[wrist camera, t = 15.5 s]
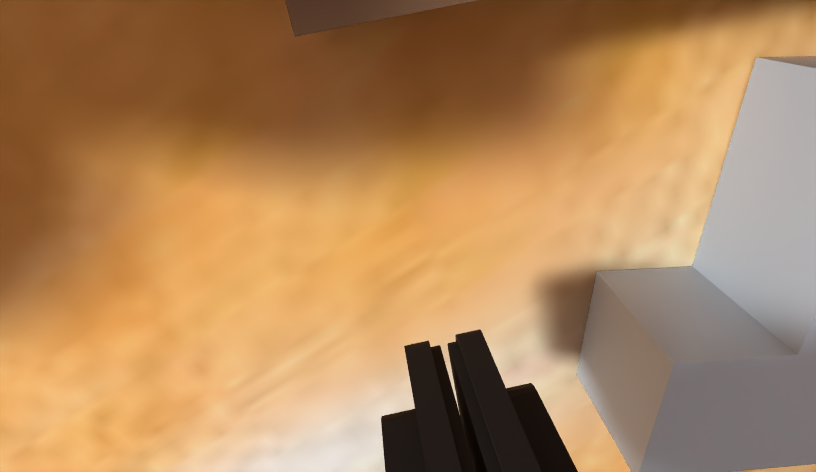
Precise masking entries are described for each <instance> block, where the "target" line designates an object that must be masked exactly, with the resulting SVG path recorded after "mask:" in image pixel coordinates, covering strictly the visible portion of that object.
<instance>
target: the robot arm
mask: <svg viewBox="0 0 816 472" xmlns="http://www.w3.org/2000/svg"><path fill="white" fill-rule="evenodd" d="M448 351H449V356H450V362H451V367H452V373H453V379H454V384H455V390H456V395H457V401H458V407H459V411H458V407H457V404H456V400H455V396H454V393H453V389H452V386H451V382H450V379H449V375H448V372H447V368H446V365H445V361H444V358H443V354H442V351H441V347H440V345H439V346H434V347H430V344H429V341H425V342H420V343H416V344H411V345H407V346H405V353H406V358H407V364H408V370H409V376H410V381H411V387H412V393H413V398H414V404H415V409H412V410H408V411H403V412H399V413H394V414H390V415H385V416H382V418H381V423H382V436H383V448H384V459H385V471H386V472H578V471H577V469H576V467H575V465H574V463H573V461H572V459H571V457H570V455H569V453H568V451H567V449H566V447H565V445H564V443H563V442H562V440H561V438H560V436H559V434H558V432H557V430H556V428H555V426H554V424H553V422H552V420H551V418H550V416H549V414H548V412H547V410H546V408H545V406H544V404H543V402H542V400H541V398H540V396H539V394H538V392H537V390H536V389H535V387H534V385H533V384H531V383H529V384H524V385H520V386H515V387H511V388H505V385H504V383H503V381H502V378H501V376H500V374H499V371H498V369H497V367H496V364H495V362H494V359H493V357H492V355H491V352H490V350H489V348H488V345H487V343H486V341H485V338H484V336H483V334H482V332H481V330H475V331H471V332H466V333H461V334H457V335H456V342H452V343H448ZM459 412H460V414H459Z"/></svg>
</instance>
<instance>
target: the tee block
mask: <svg viewBox="0 0 816 472" xmlns="http://www.w3.org/2000/svg"><path fill="white" fill-rule="evenodd" d="M577 376H578V378H579V380H580V381H581V383H582V385H583V387H584V388H585V390H586V392H587V394H588V395H589V397H590V399H591V401H592V403H593V404H594V406H595V408H596V410H597V411H598V413H599V415H600V417H601V418H602V420H603V422H604V424H605V426H606V427H607V429H608V431H609V433H610V434H611V436H612V438H613V440H614V441H615V443H616V445H617V447H618V449H619V450H620V452H621V454H622V456H623V457H624V459H625V461H626V463H627V464H628V466H629V468H630V470H631V472H732V471H743V470H754V469H765V468H776V467H787V466H798V465H809V464H816V56H813V57H756V60H755V63H754V67H753V70H752V73H751V76H750V80H749V83H748V86H747V89H746V93H745V96H744V99H743V102H742V106H741V109H740V112H739V115H738V119H737V122H736V125H735V128H734V132H733V135H732V138H731V141H730V145H729V148H728V151H727V154H726V158H725V161H724V164H723V167H722V171H721V174H720V177H719V181H718V184H717V187H716V190H715V194H714V197H713V200H712V203H711V207H710V210H709V213H708V216H707V220H706V223H705V226H704V229H703V233H702V236H701V239H700V242H699V246H698V249H697V252H696V255H695V259H694V262H693V265H692V266H687V267H668V268H649V269H631V270H612V271H597V273H596V278H595V283H594V288H593V293H592V298H591V303H590V308H589V313H588V318H587V323H586V328H585V333H584V338H583V343H582V348H581V353H580V359H579V364H578V369H577Z"/></svg>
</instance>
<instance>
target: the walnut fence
mask: <svg viewBox="0 0 816 472" xmlns="http://www.w3.org/2000/svg"><path fill="white" fill-rule="evenodd" d="M285 1H286V5H287V8H288V12H289V16H290V20H291V24H292V27H293V31H294V35H295V36H300V35H305V34H310V33H315V32H320V31H325V30H330V29H336V28H341V27H346V26H351V25H356V24H361V23H366V22H371V21H376V20H381V19H386V18H391V17H396V16H401V15H406V14H411V13H416V12H421V11H426V10H431V9H436V8H441V7H447V6H452V5H457V4H462V3H467V2H472V1H477V0H285Z"/></svg>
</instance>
